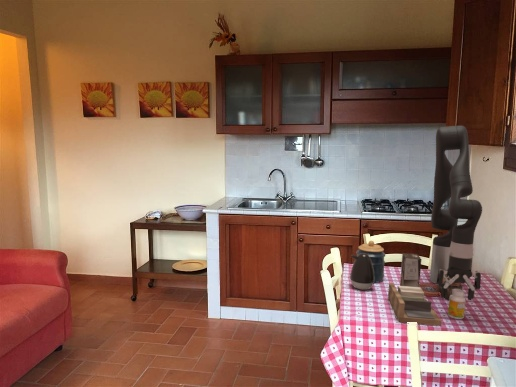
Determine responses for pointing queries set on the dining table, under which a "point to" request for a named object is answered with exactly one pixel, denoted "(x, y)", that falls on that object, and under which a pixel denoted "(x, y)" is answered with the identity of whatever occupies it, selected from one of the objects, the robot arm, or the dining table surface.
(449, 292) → the cupcake
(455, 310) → the supplement bottle
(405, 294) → the wooden tray
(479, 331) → the dining table surface
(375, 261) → the canister
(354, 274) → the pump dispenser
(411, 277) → the coffee box
